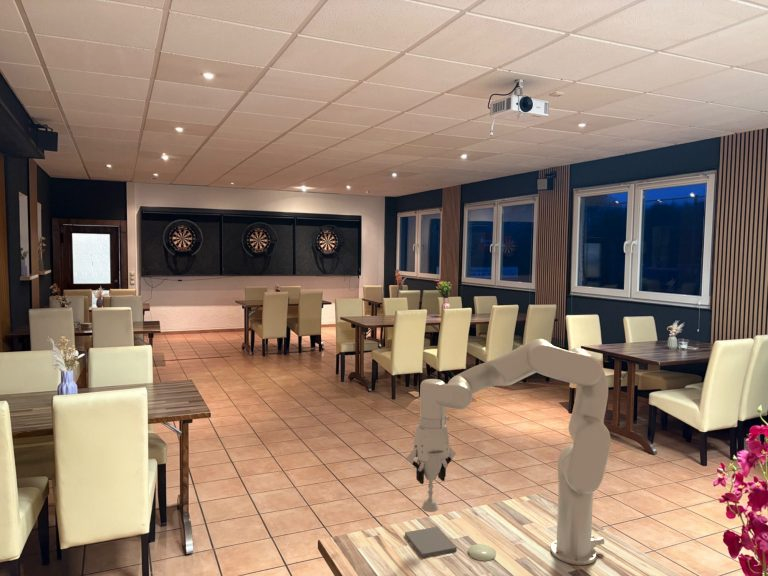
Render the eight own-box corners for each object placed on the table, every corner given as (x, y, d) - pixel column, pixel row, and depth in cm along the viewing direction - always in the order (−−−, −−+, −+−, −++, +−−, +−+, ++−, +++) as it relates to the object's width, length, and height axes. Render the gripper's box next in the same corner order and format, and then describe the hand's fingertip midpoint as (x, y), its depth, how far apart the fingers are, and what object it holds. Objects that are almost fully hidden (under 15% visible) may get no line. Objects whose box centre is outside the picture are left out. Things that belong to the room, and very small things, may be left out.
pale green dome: (481, 543, 171) (481, 541, 171) (501, 555, 165) (501, 553, 165) (462, 552, 166) (462, 549, 166) (483, 564, 160) (483, 561, 160)
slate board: (437, 529, 178) (437, 526, 178) (456, 550, 166) (456, 547, 166) (404, 535, 175) (404, 532, 175) (422, 557, 162) (422, 554, 162)
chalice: (442, 503, 173) (443, 445, 171) (442, 514, 166) (444, 454, 165) (418, 502, 173) (419, 444, 172) (417, 512, 167) (418, 452, 165)
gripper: (452, 415, 174) (451, 472, 176) (400, 420, 168) (399, 479, 170) (464, 422, 167) (462, 482, 168) (410, 428, 161) (409, 489, 163)
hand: (430, 480), depth 169 cm, fingers closed on chalice, 6 cm apart
